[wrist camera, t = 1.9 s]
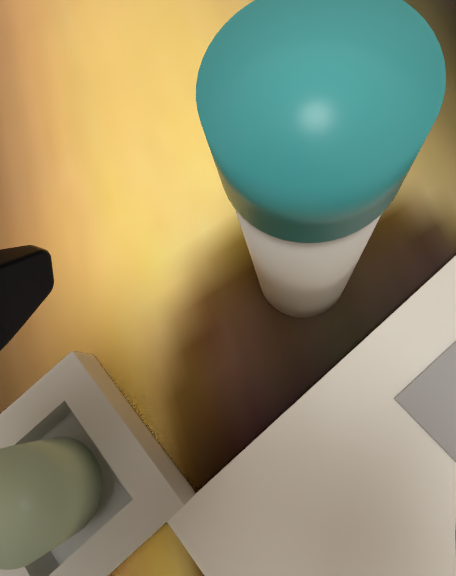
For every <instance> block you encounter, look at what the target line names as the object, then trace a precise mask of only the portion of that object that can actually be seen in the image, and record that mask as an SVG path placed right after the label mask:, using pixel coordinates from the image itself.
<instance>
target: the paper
mask: <svg viewBox="0 0 456 576" xmlns="http://www.w3.org/2000/svg"><path fill="white" fill-rule="evenodd" d="M167 523H168V525H169V526H170V527H171V529H172V530H173V532H174V533H175V534H176V536H177V537H178V539H179V540H180V542H181V543H182V544H183V546H184V547H185V549H186V550H187V552H188V553H189V554H190V556H191V557H192V559H193V560H194V561H195V563H196V564H197V566H198V567H199V569H200V570H201V571H202V573H203V574H204V576H456V541H455V529H456V255H455V256H454V257H453V258H452V259H451V260H450V261H449V262H448V263H447V264H446V265H445V266H443V267H442V268H441V269H440V270H439V271H438V272H437V273H436V274H435V275H434V276H433V277H431V278H430V279H429V280H428V281H427V282H426V283H425V284H424V285H423V286H422V287H421V288H419V289H418V290H417V291H416V292H415V293H414V294H413V295H412V296H411V297H410V298H409V299H407V300H406V301H405V302H404V303H403V304H402V305H401V306H400V307H399V308H398V309H397V310H395V311H394V312H393V313H392V314H391V315H390V316H389V317H388V318H387V319H386V320H385V321H383V322H382V323H381V324H380V325H379V326H378V327H377V328H376V329H375V330H374V331H373V332H371V333H370V334H369V335H368V336H367V337H366V338H365V339H364V340H363V341H362V342H361V343H359V344H358V345H357V346H356V347H355V348H354V349H353V350H352V351H351V352H350V353H349V354H347V355H346V356H345V357H344V358H343V359H342V360H341V361H340V362H339V363H338V364H337V365H335V366H334V367H333V368H332V369H331V370H330V371H329V372H328V373H327V374H326V375H325V376H323V377H322V378H321V379H320V380H319V381H318V382H317V383H316V384H315V385H314V386H313V387H311V388H310V389H309V390H308V391H307V392H306V393H305V394H304V395H303V396H302V397H301V398H299V399H298V400H297V401H296V402H295V403H294V404H293V405H292V406H291V407H290V408H289V409H287V410H286V411H285V412H284V413H283V414H282V415H281V416H280V417H279V418H278V419H277V420H275V421H274V422H273V423H272V424H271V425H270V426H269V427H268V428H267V429H266V430H265V431H263V432H262V433H261V434H260V435H259V436H258V437H257V438H256V439H255V440H254V441H253V442H251V443H250V444H249V445H248V446H247V447H246V448H245V449H244V450H243V451H242V452H241V453H239V454H238V455H237V456H236V457H235V458H234V459H233V460H232V461H231V462H230V463H229V464H227V465H226V466H225V467H224V468H223V469H222V470H221V471H220V472H219V473H218V474H217V475H215V476H214V477H213V478H212V479H211V480H210V481H209V482H208V483H207V484H206V485H205V486H203V487H202V488H201V489H200V490H199V491H198V492H197V493H196V494H195V495H194V496H193V497H192V498H191V499H190V500H189V501H188V502H187V503H186V504H185V506H183V507H182V508H181V509H180V510H179V511H178V512H177V513H176V514H175V515H174V516H173V517H171V518H170V519H169V520H168V521H167Z"/></svg>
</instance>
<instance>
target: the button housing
mask: <svg viewBox="0 0 456 576" xmlns="http://www.w3.org/2000/svg"><path fill="white" fill-rule="evenodd" d="M53 437H69V438H73V439H76V440H78V441H80V442H82V443H83V444H84V445H86V446H87V447H88V448H89V449H90V450H91V452H92V453H93V454H94V456H95V457H96V459H97V461H98V464H99V466H100V470H101V474H102V495H101V500H100V503H99V506H98V508H97V511H96V513H95V514H94V516H93V518H92V519H91V520H90V522H89V523H88V524H87V525H86V526H85V527H84V528H83V529H82V530H80V531H79V532H78V533H76V534H75V535H73V536H72V537H70V538H69V539H67V540H66V541H64V542H63V543H61V544H60V545H58V546H57V547H55V548H54V549H52V550H51V551H49V552H48V553H46V554H45V555H43V556H42V557H40V558H38V559H37V560H35V561H34V562H32V563H30V564H29V565H27V566H24V567H22V568H18V569H12V570H2V569H0V576H108V575H109V574H110V573H111V572H113V571H114V570H115V569H116V568H117V567H118V566H119V565H120V564H121V563H122V562H123V561H125V560H126V559H127V558H128V557H129V556H130V555H131V554H132V553H133V552H134V551H135V550H137V549H138V548H139V547H140V546H141V545H142V544H143V543H144V542H145V541H146V540H147V539H149V538H150V537H151V536H152V535H153V534H154V533H155V532H156V531H157V530H158V529H159V528H161V527H162V526H163V525H164V524H165V523H166V522H167V521H168V520H169V519H170V518H171V517H173V516H174V515H175V514H176V513H177V512H178V511H179V510H180V509H181V508H182V507H183V506H185V504H186V503H187V502H188V501H189V500H190V499H191V498H192V497H193V496H194V495H195V494H196V492H195V491H194V490H193V488H192V487H191V486H190V484H189V483H188V481H187V480H186V479H185V477H184V476H183V475H182V473H181V472H180V471H179V469H178V468H177V467H176V465H175V464H174V463H173V461H172V460H171V459H170V457H169V456H168V455H167V453H166V452H165V451H164V449H163V448H162V447H161V445H160V444H159V442H158V441H157V440H156V438H155V437H154V436H153V434H152V433H151V432H150V430H149V429H148V428H147V426H146V425H145V424H144V422H143V421H142V420H141V418H140V417H139V416H138V414H137V413H136V412H135V410H134V409H133V407H132V406H131V405H130V403H129V402H128V401H127V399H126V398H125V397H124V395H123V394H122V393H121V391H120V390H119V389H118V387H117V386H116V385H115V383H114V382H113V381H112V379H111V378H110V377H109V375H108V374H107V372H106V371H105V370H104V368H103V367H102V366H101V364H100V363H99V362H98V360H97V359H96V358H95V356H94V355H93V354H88V353H82V352H76V351H71V352H70V353H69V354H68V355H67V356H66V357H64V358H63V359H62V360H61V361H60V362H59V363H58V364H56V365H55V366H54V367H53V368H52V369H51V370H50V371H49V372H47V373H46V374H45V375H44V376H43V377H42V378H41V379H39V380H38V381H37V382H36V383H35V384H34V385H33V386H32V387H30V388H29V389H28V390H27V391H26V392H25V393H24V394H22V395H21V396H20V397H19V398H18V399H17V400H16V401H15V402H13V403H12V404H11V405H10V406H9V407H8V408H7V409H5V410H4V411H3V412H2V413H1V414H0V449H1V448H5V447H8V446H13V445H18V444H23V443H28V442H33V441H38V440H43V439H48V438H53Z"/></svg>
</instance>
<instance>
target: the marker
mask: <svg viewBox="0 0 456 576" xmlns="http://www.w3.org/2000/svg"><path fill="white" fill-rule="evenodd" d="M445 87H446V69H445V62H444V57H443V53H442V50H441V47H440V44H439V42H438V40H437V38H436V36H435V34H434V32H433V31H432V29H431V28H430V26H429V25H428V24H427V22H426V21H425V20H424V19H423V18H422V16H421V15H420V14H419V13H418V12H417V11H416V10H415V9H413V8H412V7H411V6H410V5H408V4H407V3H406V2H404V1H403V0H255V1H253V2H251V3H250V4H248V5H247V6H245V7H244V8H243V9H241V10H240V11H239V12H237V13H236V14H235V15H234V16H233V17H232V18H231V19H230V20H229V21H228V22H227V23H226V24H225V25H224V26H223V27H222V28H221V29H220V31H219V32H218V33H217V34H216V36H215V37H214V39H213V40H212V42H211V43H210V45H209V47H208V49H207V51H206V53H205V55H204V57H203V59H202V62H201V66H200V69H199V72H198V78H197V84H196V102H197V110H198V114H199V117H200V121H201V124H202V127H203V130H204V133H205V136H206V139H207V141H208V144H209V147H210V150H211V153H212V156H213V159H214V161H215V164H216V167H217V170H218V173H219V176H220V179H221V181H222V184H223V187H224V190H225V192H226V194H227V196H228V199H229V200H230V202H231V203H232V205H233V207H234V208H235V210H236V213H237V216H238V219H239V222H240V225H241V228H242V231H243V234H244V237H245V240H246V244H247V247H248V250H249V253H250V256H251V259H252V262H253V265H254V268H255V271H256V274H257V277H258V280H259V283H260V286H261V289H262V292H263V294H264V296H265V298H266V299H267V301H268V302H269V303H270V304H271V305H272V306H273V307H274V308H275V309H277V310H278V311H280V312H281V313H283V314H286V315H288V316H292V317H298V318H307V317H313V316H317V315H319V314H322V313H324V312H325V311H327V310H328V309H330V308H331V307H332V306H333V305H334V304H335V303H336V302H337V301H338V299H339V298H340V296H341V294H342V292H343V290H344V288H345V286H346V284H347V282H348V280H349V278H350V276H351V274H352V272H353V270H354V268H355V266H356V264H357V262H358V260H359V258H360V256H361V254H362V252H363V250H364V248H365V246H366V244H367V242H368V240H369V238H370V236H371V234H372V232H373V230H374V228H375V226H376V224H377V222H378V220H379V218H380V216H381V214H382V213H383V212H384V211H385V210H386V209H387V207H388V206H389V205H390V203H391V202H392V201H393V199H394V198H395V196H396V194H397V192H398V190H399V188H400V186H401V185H402V183H403V181H404V179H405V177H406V175H407V173H408V171H409V169H410V167H411V166H412V164H413V162H414V160H415V158H416V156H417V154H418V152H419V150H420V148H421V146H422V145H423V143H424V141H425V139H426V137H427V135H428V133H429V131H430V129H431V127H432V125H433V124H434V122H435V120H436V118H437V116H438V113H439V111H440V108H441V105H442V102H443V98H444V92H445Z"/></svg>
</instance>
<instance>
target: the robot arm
mask: <svg viewBox="0 0 456 576" xmlns="http://www.w3.org/2000/svg"><path fill="white" fill-rule="evenodd" d="M53 285H54V278H53V269H52V261H51V255H50V253H49V252H48V251H47V250H45V249H42V248H39V247H37V246H33V245H26V246H20V247H14V248H8V249H2V250H0V351H1V350H2V349H3V347H4V346H5V345H6V344H7V343H8V342H9V341H10V340H11V339H12V338H13V337H14V335H15V334H16V333H17V332H18V331H19V330H20V328H21V327H22V326H23V325H24V324H25V322H26V321H27V320H28V319H29V317H30V316H31V315H32V314H33V313H34V311H35V310H36V309H37V308H38V307H39V305H40V304H41V303H42V302H43V301H44V299H45V298H46V297H47V296H48V295H49V293H50V292H51V290H52V288H53ZM455 541H456V529H455Z"/></svg>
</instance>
